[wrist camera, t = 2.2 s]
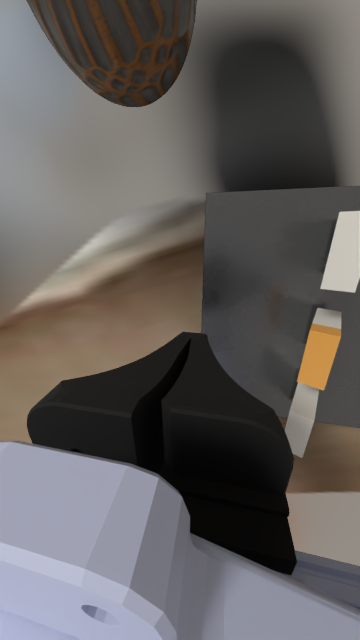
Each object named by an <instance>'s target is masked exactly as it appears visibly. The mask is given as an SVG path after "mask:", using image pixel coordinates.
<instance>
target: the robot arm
mask: <svg viewBox="0 0 360 640" xmlns="http://www.w3.org/2000/svg"><path fill="white" fill-rule="evenodd" d="M27 428H28V432H29V435H30V438H31V440H32V443H33V444H32V443H27V442H22V441H0V640H360V566H356V565H352V564H348V563H344V562H340V561H335V560H332V559H328V558H324V557H320V556H316V555H311V554H307V553H303V552H299V551H295V550H294V545H293V541H292V536H291V532H290V528H289V523H288V519H287V517H288V516H289V507H288V502H287V498H286V494H285V492H286V489H287V486H288V482H289V479H290V476H291V473H292V469H293V460H294V457H293V454H292V450H291V447H290V443H289V441H288V438H287V436H286V433H285V431H284V429H283V427H282V425H281V423H280V421H279V419H278V417H277V415H276V413H275V411H274V409H273V408H271V407H269V406H268V405H266V404H265V403H263V402H262V401H260V400H258V399H257V398H255V397H254V396H252V395H251V394H250V393H248V392H247V391H246V390H244V389H243V388H242V387H241V386H239V385H238V384H237V383H236V382H235V381H234V380H233V379H232V378H231V377H230V376H229V375H228V374H227V373H226V371H225V370H224V369H223V368H222V366H221V365H220V363H219V362H218V360H217V359H216V357H215V355H214V353H213V351H212V349H211V347H210V345H209V342H208V336H207V335H206V334H203V333H190V332H182V333H181V334H179V335H178V336H177V337H175V338H174V339H173V340H171V341H170V342H168V343H167V344H165V345H164V346H162V347H161V348H159V349H158V350H156V351H154V352H153V353H151V354H149V355H147V356H145V357H143V358H141V359H139V360H137V361H135V362H132V363H130V364H127V365H124V366H122V367H119V368H116V369H113V370H109V371H106V372H102V373H99V374H95V375H90V376H85V377H80V378H75V379H70V380H63V381H61V382H60V383H59V384H58V385H57V386H56V387H55V388H54V389H53V390H51V391H50V392H49V393H48V394H47V395H46V396H45V397H44V398H43V399H42V400H40V401H39V402H38V403H37V404H36V405H35V406H34V407H33V408H32V409H31V410H30V412H29V414H28V417H27Z"/></svg>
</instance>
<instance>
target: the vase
mask: <svg viewBox="0 0 360 640" xmlns="http://www.w3.org/2000/svg"><path fill="white" fill-rule="evenodd" d="M27 2H28V4H29V6H30V8H31V10H32V12H33V13H34V15H35V17H36V19H37V21H38V23H39V24H40V26H41V28H42V30H43V31H44V33H45V35H46V36H47V38H48V40H49V41H50V42H51V44H52V45H53V47H54V48H55V49H56V51H57V53H58V54H59V55H60V57H61V58H62V59H63V61H64V62H65V63H66V64H67V65H68V67H69V68H70V69H71V70H72V71H73V72H74V73H75V74H76V75H77V76H78V77H79V78H80V79H81V80H82V81H83V82H84V83H85V84H86V85H87V86H88V87H89V88H91V89H92V90H93V91H94V92H95V93H97V94H98V95H100V96H102V97H103V98H105V99H107V100H109V101H111V102H113V103H116V104H119V105H122V106H126V107H140V106H146V105H148V104H151V103H153V102H155V101H156V100H158V99H159V98H160V97H162V96H163V95H164V94H165V93H166V92H167V91H168V90H169V88H170V87H171V86H172V85H173V83H174V82H175V80H176V79H177V77H178V75H179V73H180V71H181V69H182V67H183V64H184V62H185V59H186V56H187V53H188V50H189V46H190V42H191V38H192V32H193V27H194V22H195V14H196V2H197V0H27Z"/></svg>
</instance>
